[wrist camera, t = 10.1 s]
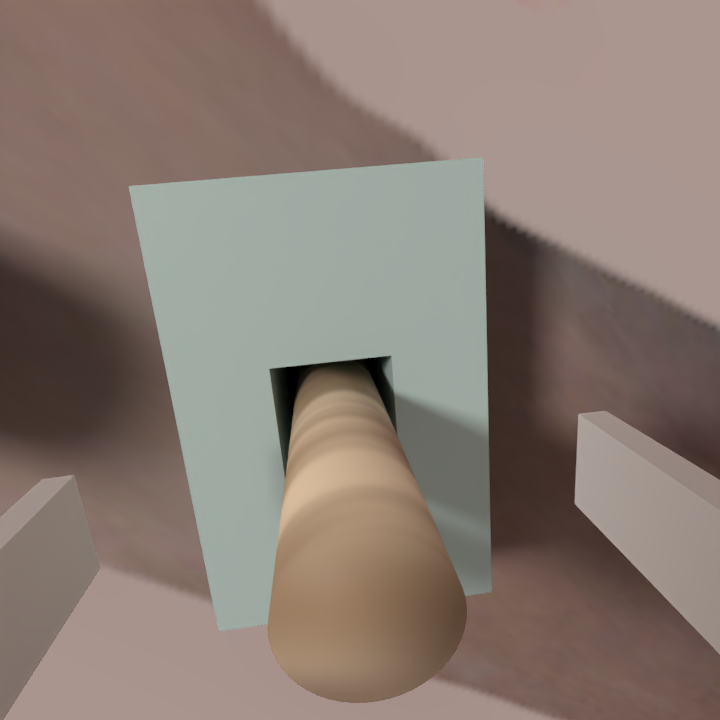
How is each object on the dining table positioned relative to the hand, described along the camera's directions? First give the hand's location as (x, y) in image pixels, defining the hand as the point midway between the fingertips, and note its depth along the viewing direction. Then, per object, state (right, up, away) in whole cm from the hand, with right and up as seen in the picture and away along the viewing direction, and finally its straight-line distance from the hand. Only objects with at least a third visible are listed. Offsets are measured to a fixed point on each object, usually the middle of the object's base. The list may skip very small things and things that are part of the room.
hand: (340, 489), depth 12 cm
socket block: (-1, +3, +12) cm, 12 cm away
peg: (-1, +3, +12) cm, 12 cm away
